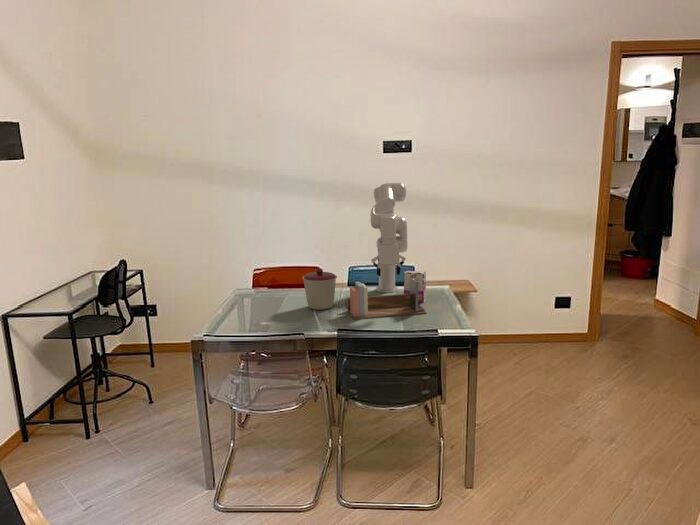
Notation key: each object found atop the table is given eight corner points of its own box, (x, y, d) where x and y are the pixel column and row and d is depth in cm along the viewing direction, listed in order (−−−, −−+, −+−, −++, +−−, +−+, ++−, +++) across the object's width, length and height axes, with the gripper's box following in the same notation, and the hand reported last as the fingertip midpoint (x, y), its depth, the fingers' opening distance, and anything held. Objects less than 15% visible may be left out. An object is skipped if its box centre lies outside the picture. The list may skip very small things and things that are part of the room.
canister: (333, 312, 269) (332, 272, 265) (299, 311, 272) (297, 271, 268) (341, 303, 286) (340, 265, 282) (308, 302, 290) (307, 264, 286)
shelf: (347, 311, 271) (347, 298, 270) (417, 305, 278) (417, 293, 277) (353, 319, 257) (353, 306, 256) (426, 313, 264) (426, 300, 262)
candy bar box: (426, 301, 287) (426, 271, 283) (423, 303, 282) (423, 273, 279) (406, 299, 291) (406, 270, 288) (403, 301, 287) (403, 272, 283)
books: (350, 310, 269) (349, 282, 266) (363, 309, 270) (363, 281, 267) (354, 316, 259) (353, 286, 256) (368, 315, 260) (367, 285, 257)
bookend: (409, 306, 274) (409, 277, 271) (418, 305, 274) (418, 277, 272) (415, 311, 264) (415, 282, 261) (424, 310, 265) (425, 281, 262)
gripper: (372, 243, 255) (373, 278, 259) (407, 241, 258) (407, 275, 262) (369, 240, 262) (369, 274, 266) (403, 238, 265) (403, 272, 269)
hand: (388, 275), depth 264 cm, fingers open, 9 cm apart
